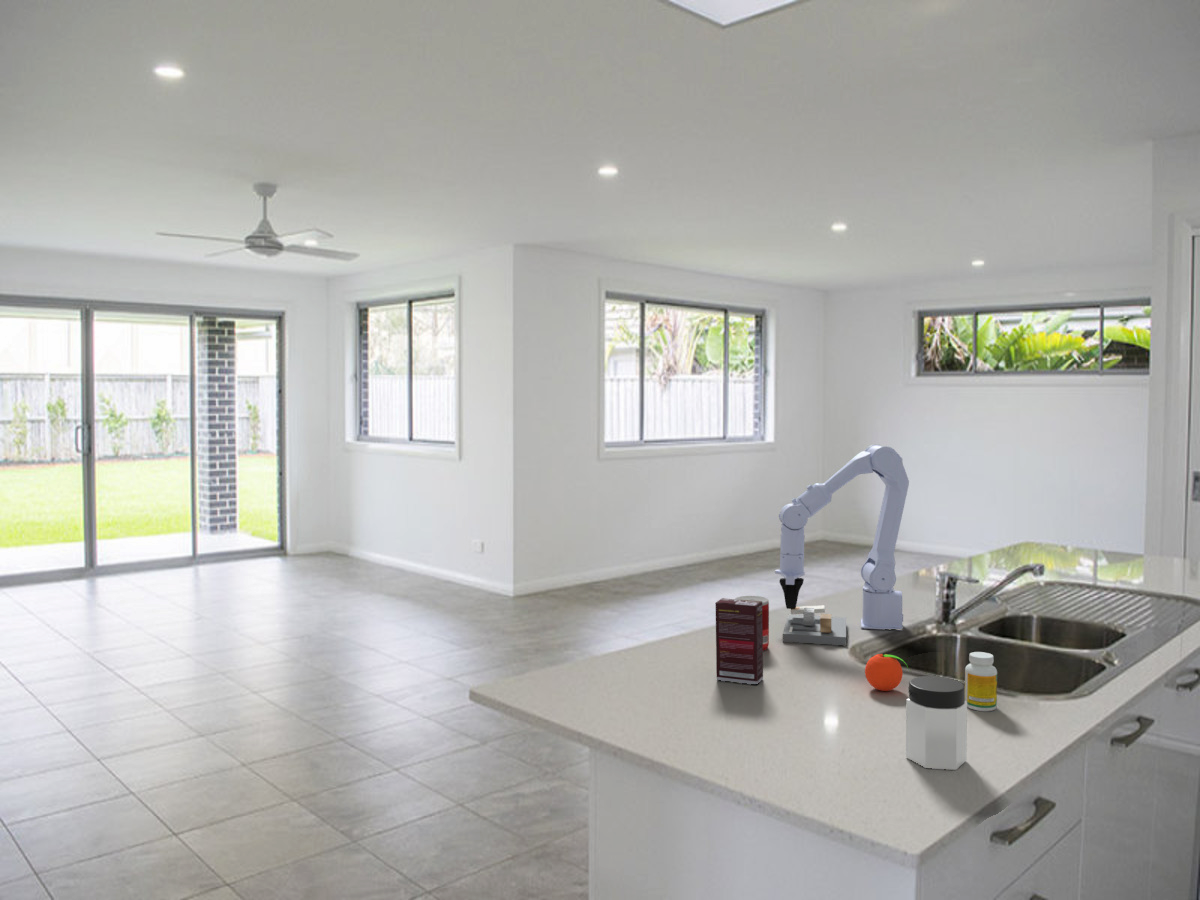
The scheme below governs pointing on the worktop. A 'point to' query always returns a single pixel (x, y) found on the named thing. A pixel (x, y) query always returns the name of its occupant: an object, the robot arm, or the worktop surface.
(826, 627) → the oak slider
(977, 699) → the supplement bottle
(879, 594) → the robot arm
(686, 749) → the worktop surface
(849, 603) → the worktop surface
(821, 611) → the block
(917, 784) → the worktop surface
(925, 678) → the jar
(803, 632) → the console
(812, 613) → the steel slider
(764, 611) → the canned food
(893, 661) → the clementine
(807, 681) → the worktop surface
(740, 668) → the supplement box
